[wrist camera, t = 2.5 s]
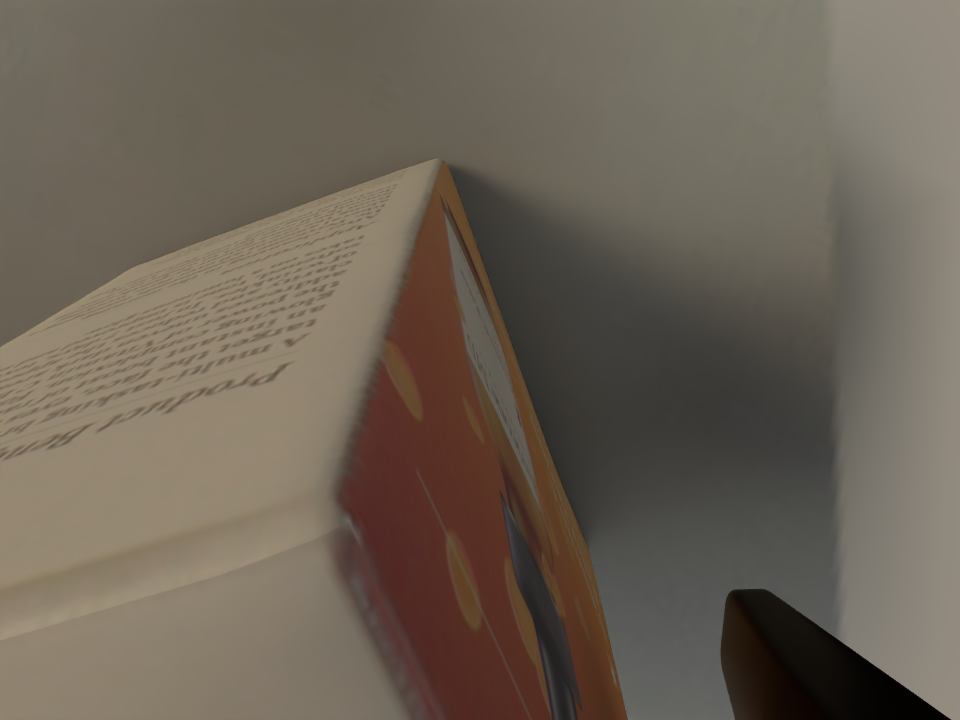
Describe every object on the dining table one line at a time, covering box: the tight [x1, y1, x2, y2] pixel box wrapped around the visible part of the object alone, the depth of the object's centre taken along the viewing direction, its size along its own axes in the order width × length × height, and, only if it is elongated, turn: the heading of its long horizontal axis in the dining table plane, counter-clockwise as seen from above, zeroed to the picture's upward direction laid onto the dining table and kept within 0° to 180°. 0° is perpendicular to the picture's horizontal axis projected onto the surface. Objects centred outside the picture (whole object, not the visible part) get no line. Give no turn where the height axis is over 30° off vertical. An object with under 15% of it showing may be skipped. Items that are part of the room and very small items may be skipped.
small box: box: [0, 159, 628, 720], centre depth 9 cm, size 8×6×10 cm
